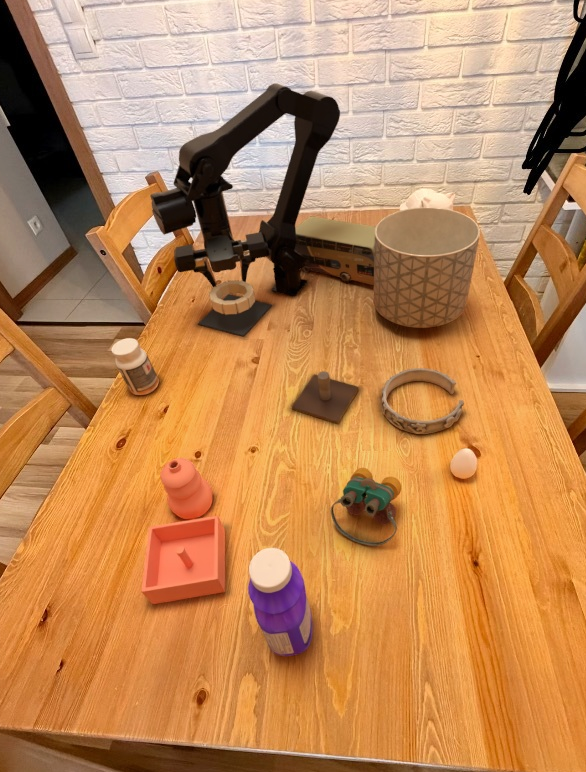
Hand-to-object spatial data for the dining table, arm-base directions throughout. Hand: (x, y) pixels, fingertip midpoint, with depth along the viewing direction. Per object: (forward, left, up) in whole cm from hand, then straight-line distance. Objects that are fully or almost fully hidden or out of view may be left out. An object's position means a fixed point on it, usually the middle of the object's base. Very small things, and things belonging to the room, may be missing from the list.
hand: (230, 288), depth 100 cm
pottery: (+50, +25, -6) cm, 56 cm away
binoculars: (+37, +47, -6) cm, 60 cm away
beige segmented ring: (+4, +3, -1) cm, 5 cm away
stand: (+18, +31, -5) cm, 37 cm away
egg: (+24, +57, -6) cm, 62 cm away
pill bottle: (+28, -3, -6) cm, 29 cm away
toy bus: (-23, +16, -6) cm, 29 cm away
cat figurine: (-38, +31, -6) cm, 49 cm away
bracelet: (+13, +47, -6) cm, 49 cm away
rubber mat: (+2, +1, -5) cm, 6 cm away
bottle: (+55, +44, -6) cm, 71 cm away
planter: (-13, +38, -6) cm, 41 cm away
